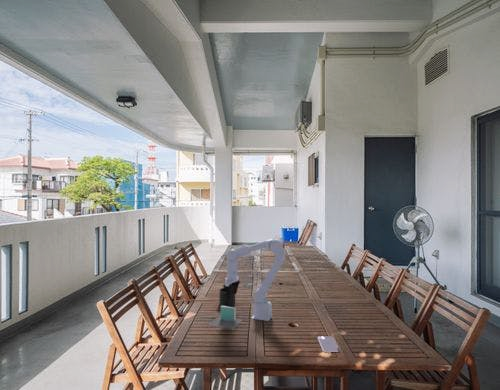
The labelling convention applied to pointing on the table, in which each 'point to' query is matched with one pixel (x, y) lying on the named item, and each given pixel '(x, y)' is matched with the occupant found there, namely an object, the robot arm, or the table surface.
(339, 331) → the table surface
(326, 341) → the mobile phone
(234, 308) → the tile
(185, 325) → the table surface
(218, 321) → the mat
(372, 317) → the table surface
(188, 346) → the table surface
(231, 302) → the mug
